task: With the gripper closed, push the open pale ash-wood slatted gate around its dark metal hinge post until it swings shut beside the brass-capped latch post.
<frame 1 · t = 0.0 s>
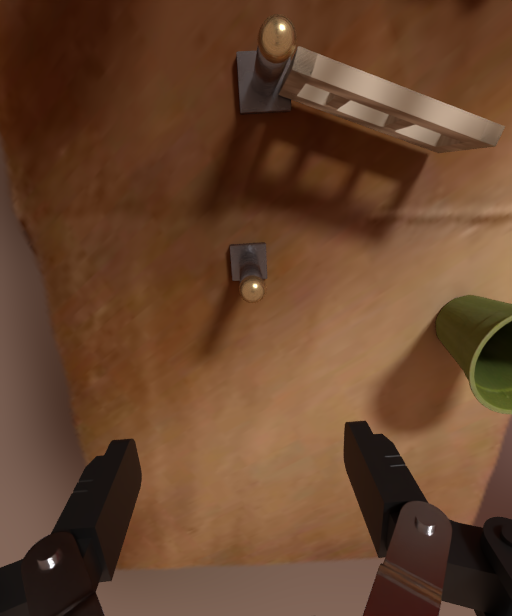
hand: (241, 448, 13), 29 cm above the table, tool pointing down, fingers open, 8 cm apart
plant pot: (460, 319, 45), on the table
hinge post: (263, 84, 35), on the table
gate: (381, 109, 31), point 6 cm above the table, hinge at 70.0°
latch post: (248, 260, 41), on the table
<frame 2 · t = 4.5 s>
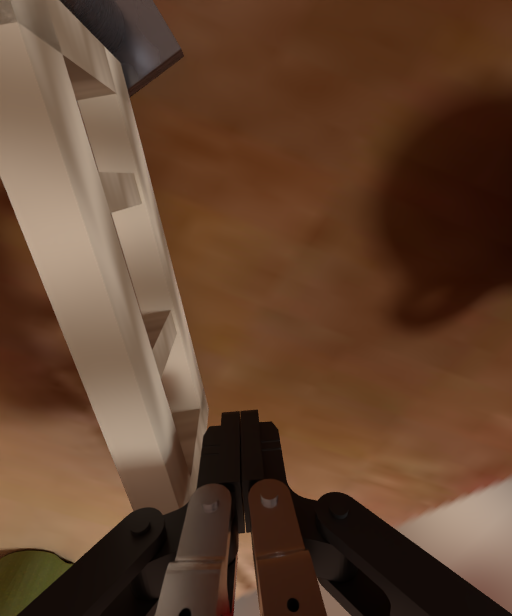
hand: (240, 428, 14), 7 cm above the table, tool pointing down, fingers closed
plant pot: (40, 576, 27), on the table
hinge post: (102, 33, 15), on the table
gate: (135, 295, 14), point 6 cm above the table, hinge at 66.9°, touching gripper
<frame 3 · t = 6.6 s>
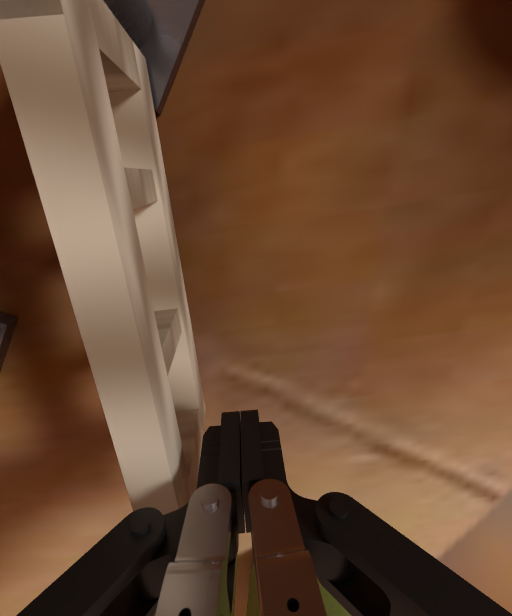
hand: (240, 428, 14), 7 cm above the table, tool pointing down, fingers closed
plant pot: (295, 559, 28), on the table
hinge post: (128, 27, 15), on the table
gate: (146, 292, 14), point 6 cm above the table, hinge at 32.8°, touching gripper
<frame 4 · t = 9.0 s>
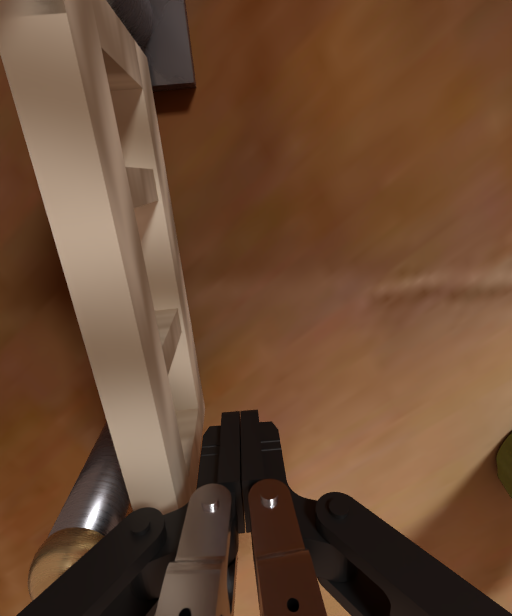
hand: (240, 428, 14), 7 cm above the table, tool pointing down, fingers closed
hinge post: (130, 26, 15), on the table
gate: (146, 291, 14), point 6 cm above the table, hinge at -0.1°, touching gripper
latch post: (149, 378, 21), on the table
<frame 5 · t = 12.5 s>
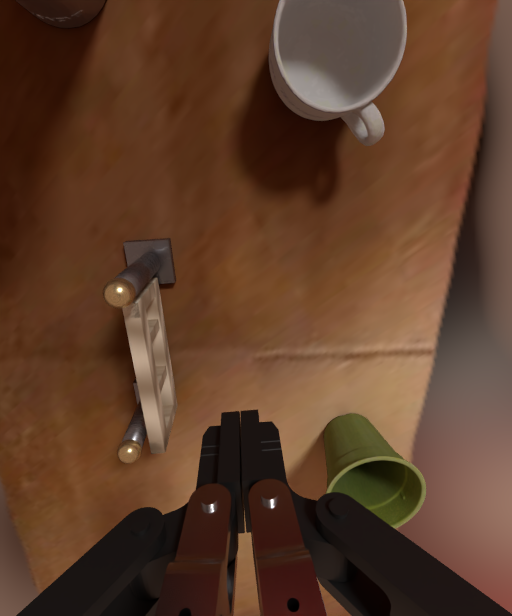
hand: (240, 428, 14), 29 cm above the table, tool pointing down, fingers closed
plant pot: (346, 431, 51), on the table
teacup: (323, 83, 36), on the table
hinge post: (151, 261, 41), on the table
gate: (154, 363, 39), point 6 cm above the table, hinge at -0.1°
latch post: (152, 390, 47), on the table
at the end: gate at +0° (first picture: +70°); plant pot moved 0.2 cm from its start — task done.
